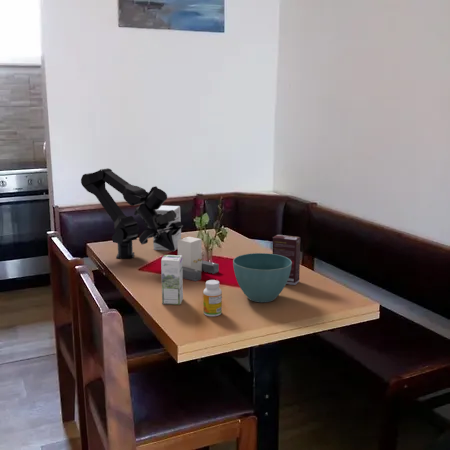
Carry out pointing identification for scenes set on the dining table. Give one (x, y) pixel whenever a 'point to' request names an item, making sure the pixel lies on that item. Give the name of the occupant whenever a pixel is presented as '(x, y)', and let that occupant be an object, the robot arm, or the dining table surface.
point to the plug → (191, 252)
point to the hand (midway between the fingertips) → (173, 250)
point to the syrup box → (172, 279)
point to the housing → (196, 274)
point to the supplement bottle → (212, 298)
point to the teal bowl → (262, 275)
